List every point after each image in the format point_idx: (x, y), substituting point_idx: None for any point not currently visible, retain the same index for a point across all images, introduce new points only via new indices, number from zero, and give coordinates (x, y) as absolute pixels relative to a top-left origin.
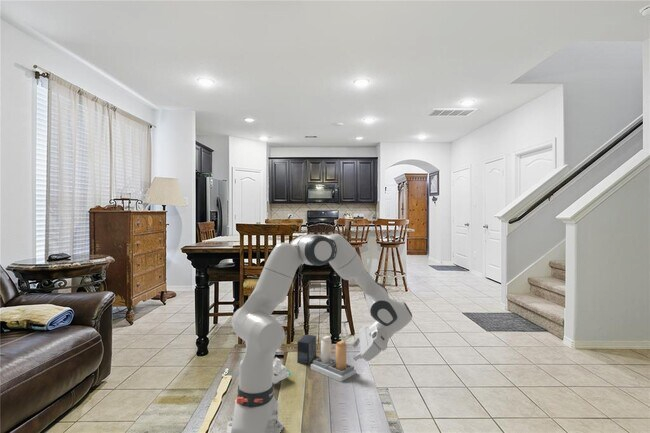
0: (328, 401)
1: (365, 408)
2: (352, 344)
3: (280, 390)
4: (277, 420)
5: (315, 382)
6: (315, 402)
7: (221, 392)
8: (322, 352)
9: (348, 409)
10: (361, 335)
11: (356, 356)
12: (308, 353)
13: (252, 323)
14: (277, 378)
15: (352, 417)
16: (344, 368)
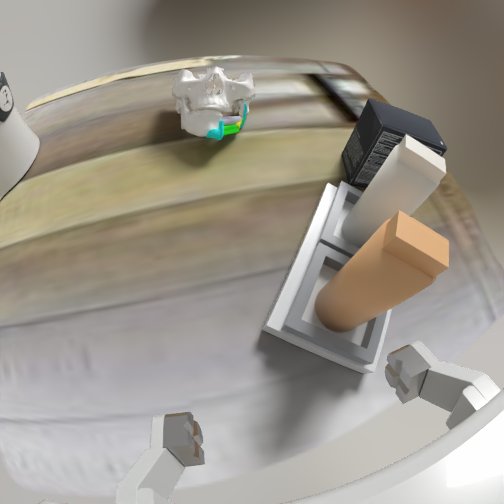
0: (88, 307)
1: (77, 452)
2: (398, 351)
3: (145, 148)
4: None
5: (223, 229)
6: (78, 262)
7: (132, 74)
8: (367, 187)
9: (54, 388)
10: (481, 459)
11: (154, 450)
12: (365, 155)
13: None
14: (183, 119)
15: (19, 400)
16: (334, 324)
